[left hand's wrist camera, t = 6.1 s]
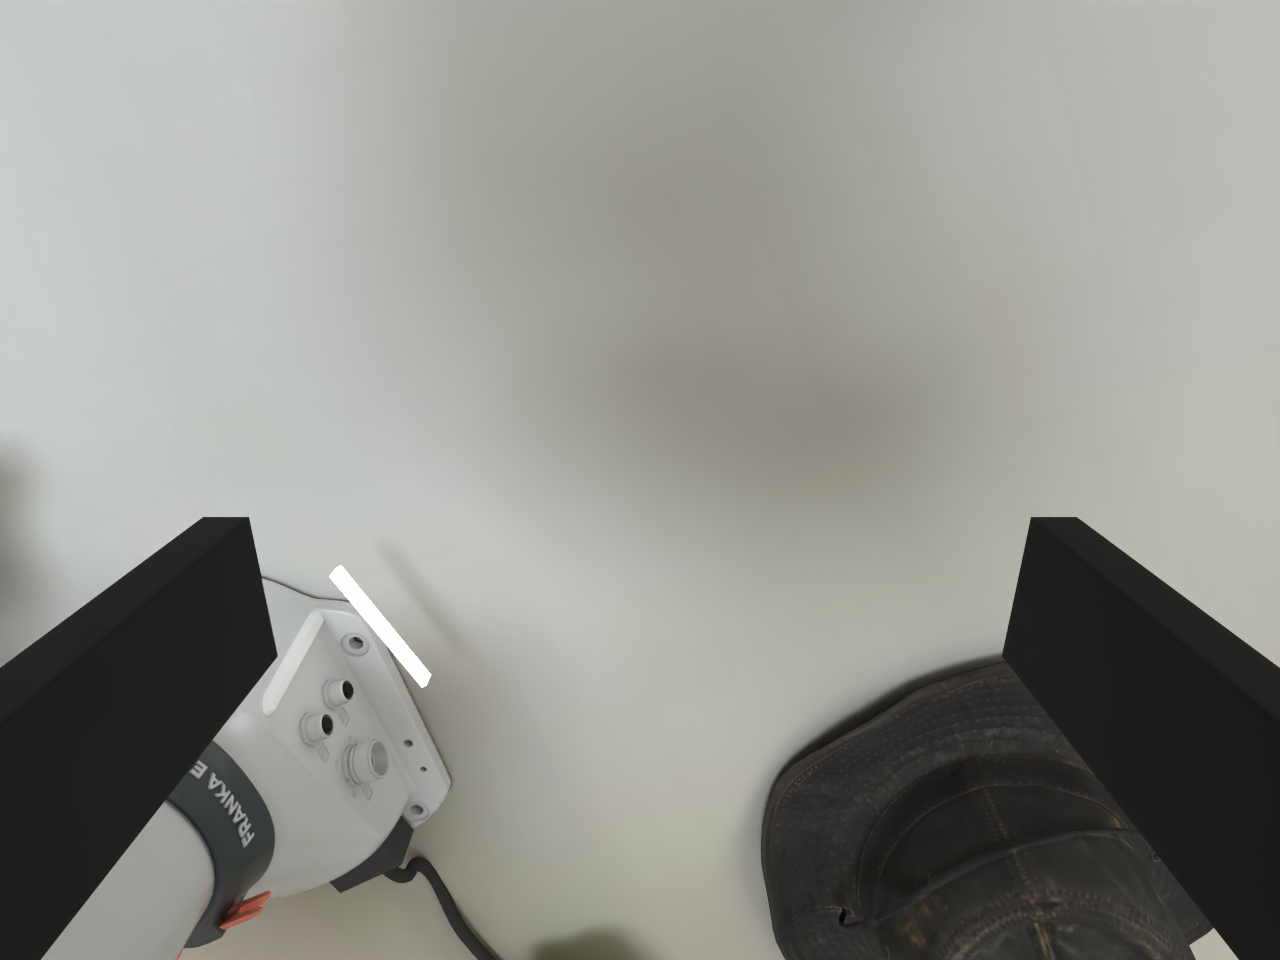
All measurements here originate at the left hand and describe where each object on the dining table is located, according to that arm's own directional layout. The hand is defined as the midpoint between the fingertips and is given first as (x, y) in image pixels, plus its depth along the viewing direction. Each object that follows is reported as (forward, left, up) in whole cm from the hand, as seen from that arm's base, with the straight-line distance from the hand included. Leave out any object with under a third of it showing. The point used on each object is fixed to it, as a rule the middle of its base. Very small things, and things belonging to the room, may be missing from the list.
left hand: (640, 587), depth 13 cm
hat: (+38, +25, -28) cm, 53 cm away
